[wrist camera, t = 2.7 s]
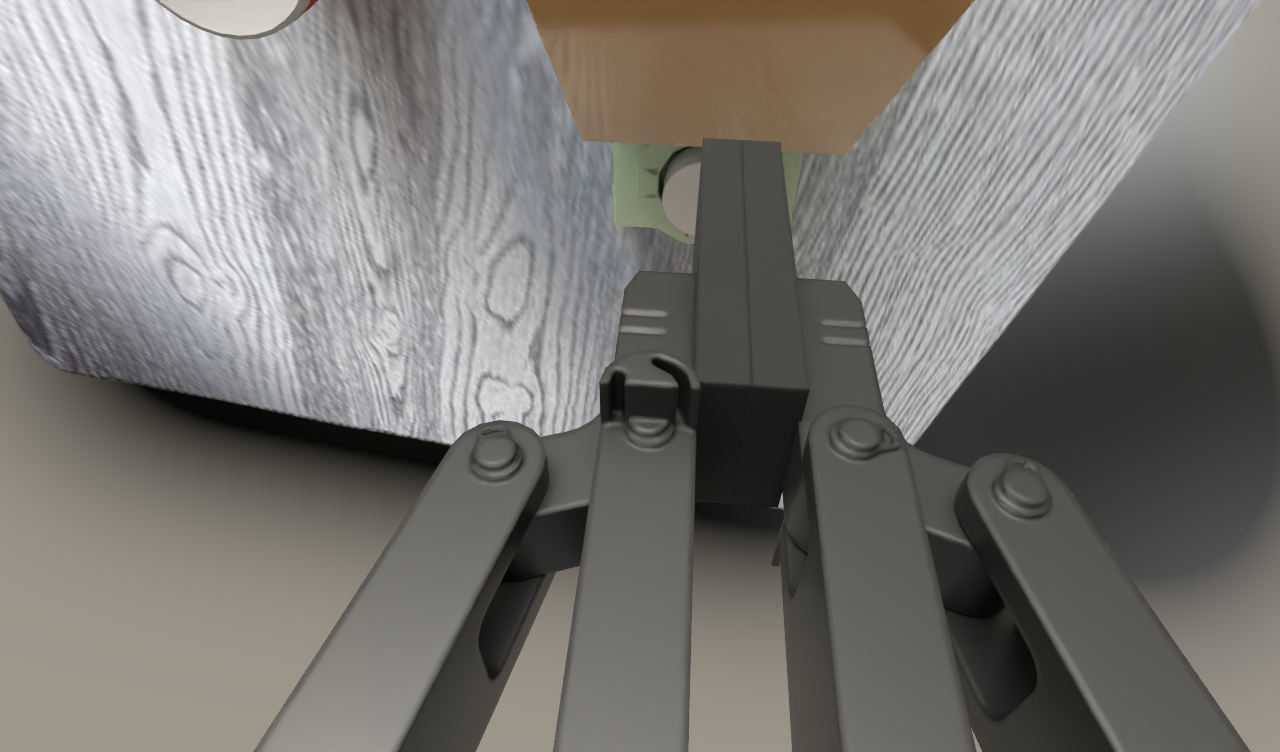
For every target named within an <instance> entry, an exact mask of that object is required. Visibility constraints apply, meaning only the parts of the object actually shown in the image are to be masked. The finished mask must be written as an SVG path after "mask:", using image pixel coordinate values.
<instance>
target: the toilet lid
mask: <svg viewBox="0 0 1280 752" xmlns="http://www.w3.org/2000/svg"><path fill="white" fill-rule="evenodd" d="M525 1H526V3H527V6H528V8H529V10H530V13H531V15H532V18H533V20H534V23H535V25H536V28H537V30H538V33H539V35H540V38H541V40H542V43H543V45H544V47H545V50H546V52H547V55H548V57H549V60H550V62H551V65H552V67H553V70H554V72H555V75H556V77H557V80H558V82H559V84H560V87H561V89H562V92H563V94H564V97H565V99H566V102H567V104H568V107H569V109H570V112H571V114H572V117H573V119H574V121H575V124H576V126H577V129H578V131H579V134H580V136H581V139H582V140H583V141H597V142H615V143H634V144H652V145H671V146H689V147H702V144H703V138H715V139H734V140H753V141H772V142H781V150H782V152H800V153H818V154H837V155H846V154H847V153H848V152H849V150H850V149H851V148H852V147H853V146H854V144H855V143H856V142H857V141H858V140H859V139H860V137H861V136H862V135H863V134H864V133H865V131H866V130H867V129H868V128H869V127H870V125H871V124H872V123H873V122H874V121H875V119H876V118H877V117H878V116H879V115H880V113H881V112H882V111H883V110H884V109H885V107H886V106H887V105H888V104H889V103H890V101H891V100H892V99H893V98H894V97H895V95H896V94H897V93H898V92H899V91H900V89H901V88H902V87H903V86H904V85H905V83H906V82H907V81H908V80H909V79H910V78H911V76H912V75H913V74H914V73H915V72H916V70H917V69H918V68H919V67H920V66H921V64H922V63H923V62H924V61H925V60H926V58H927V57H928V56H929V55H930V54H931V52H932V51H933V50H934V49H935V48H936V46H937V45H938V44H939V43H940V42H941V40H942V39H943V38H944V37H945V36H946V34H947V33H948V32H949V31H950V30H951V28H952V27H953V26H954V25H955V24H956V23H957V21H958V20H959V19H960V18H961V17H962V15H963V14H964V13H965V12H966V11H967V9H968V8H969V7H970V6H971V5H972V3H973V2H974V1H975V0H525Z"/></svg>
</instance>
